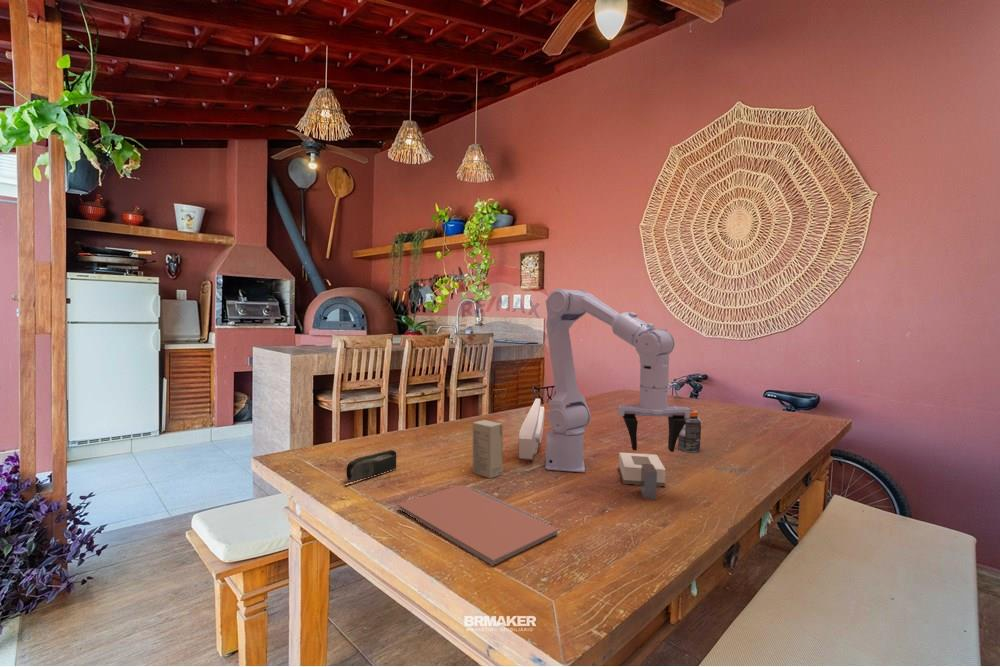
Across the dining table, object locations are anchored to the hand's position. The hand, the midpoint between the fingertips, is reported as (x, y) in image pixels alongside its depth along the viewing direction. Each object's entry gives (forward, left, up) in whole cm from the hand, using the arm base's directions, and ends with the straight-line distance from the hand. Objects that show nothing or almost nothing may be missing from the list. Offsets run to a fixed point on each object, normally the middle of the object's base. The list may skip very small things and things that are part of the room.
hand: (652, 449), depth 104 cm
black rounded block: (-62, -1, -10) cm, 63 cm away
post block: (-1, +11, -10) cm, 15 cm away
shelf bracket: (-28, +28, -10) cm, 40 cm away
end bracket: (-1, 0, -10) cm, 10 cm away
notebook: (-34, -19, -11) cm, 41 cm away
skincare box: (-37, +6, -10) cm, 38 cm away
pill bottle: (+16, +37, -10) cm, 42 cm away
